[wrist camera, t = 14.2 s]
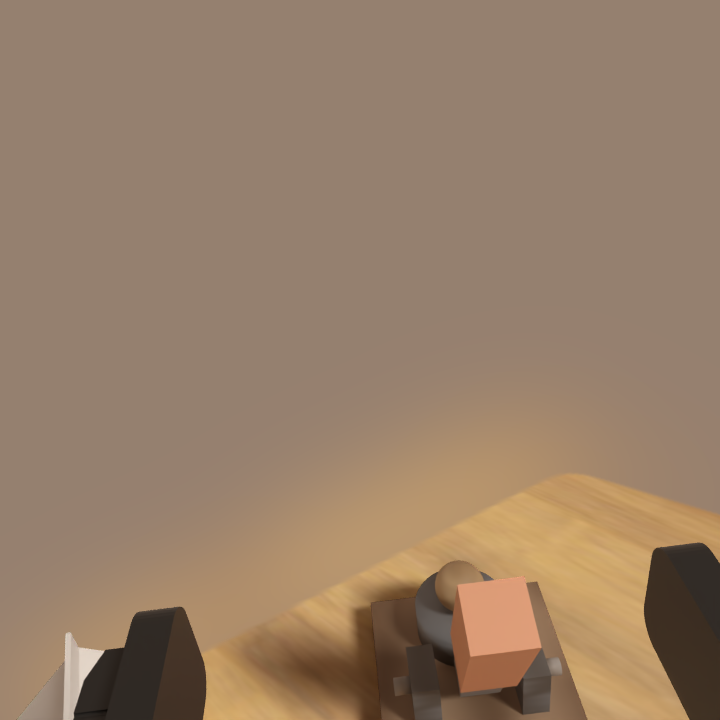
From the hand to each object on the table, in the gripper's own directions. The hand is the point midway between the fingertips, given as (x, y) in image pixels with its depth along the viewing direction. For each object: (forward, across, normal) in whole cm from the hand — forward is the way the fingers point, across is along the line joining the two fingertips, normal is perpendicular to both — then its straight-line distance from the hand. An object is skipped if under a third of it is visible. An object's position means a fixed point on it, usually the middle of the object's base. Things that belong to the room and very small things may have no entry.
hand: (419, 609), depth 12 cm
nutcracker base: (+18, -4, +32) cm, 37 cm away
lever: (+17, -4, +28) cm, 33 cm away
